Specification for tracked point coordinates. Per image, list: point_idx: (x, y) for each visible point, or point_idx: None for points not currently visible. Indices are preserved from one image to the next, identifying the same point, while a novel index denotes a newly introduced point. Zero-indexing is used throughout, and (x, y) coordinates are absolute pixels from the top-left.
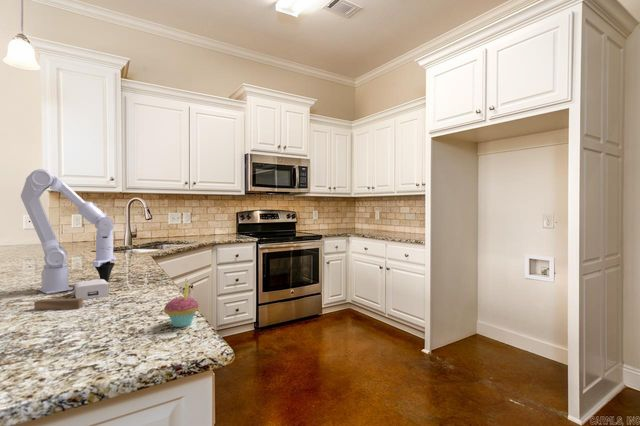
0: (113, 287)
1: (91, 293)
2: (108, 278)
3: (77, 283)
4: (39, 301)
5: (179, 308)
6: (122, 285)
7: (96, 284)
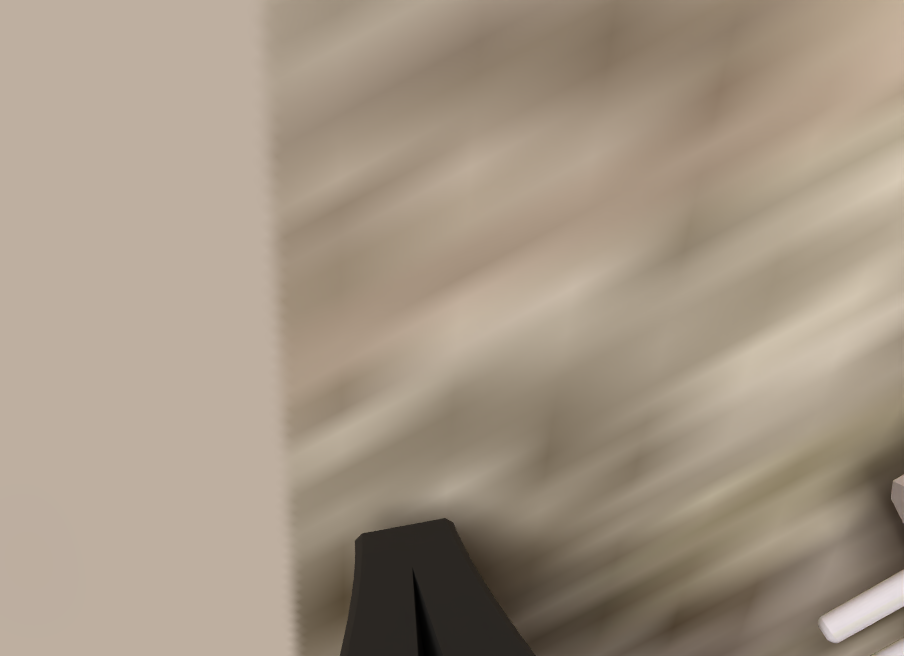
0: (720, 172)
1: None
2: (419, 577)
3: None
4: None
5: None
6: (503, 38)
7: None
